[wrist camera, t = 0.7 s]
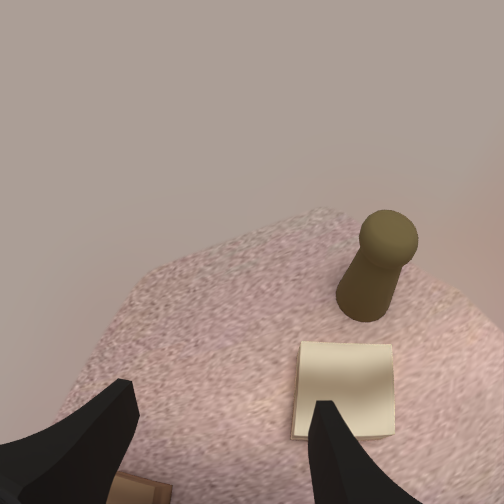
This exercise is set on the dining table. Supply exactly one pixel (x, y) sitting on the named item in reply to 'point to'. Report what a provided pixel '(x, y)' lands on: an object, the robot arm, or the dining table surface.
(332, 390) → the sticky note pad
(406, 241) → the olive round-headed peg
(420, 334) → the dining table surface
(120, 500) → the walnut cube
